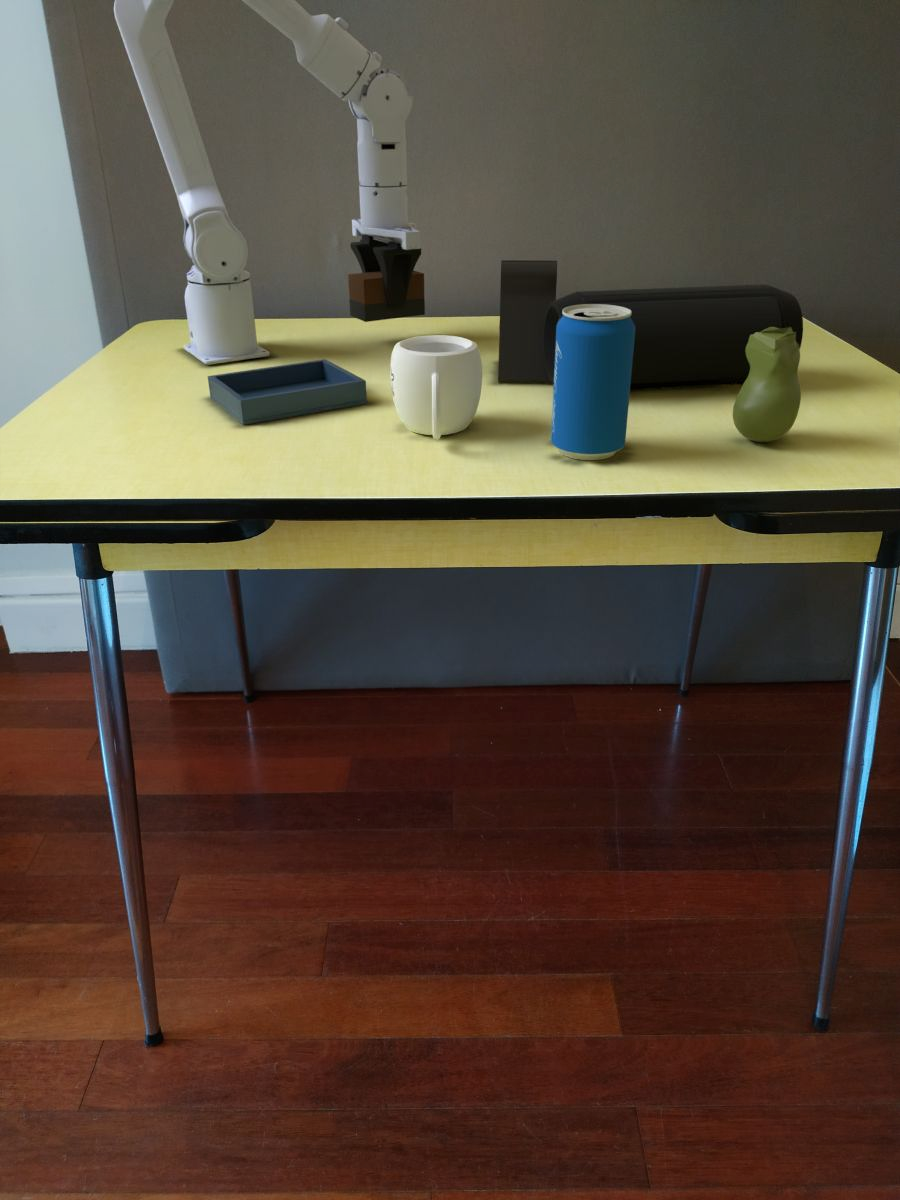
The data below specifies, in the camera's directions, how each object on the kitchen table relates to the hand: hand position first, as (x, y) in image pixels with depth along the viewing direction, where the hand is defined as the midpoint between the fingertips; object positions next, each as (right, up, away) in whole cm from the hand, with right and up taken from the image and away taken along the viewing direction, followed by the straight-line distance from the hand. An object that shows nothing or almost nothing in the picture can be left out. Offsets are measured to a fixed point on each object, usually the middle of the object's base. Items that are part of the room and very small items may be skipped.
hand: (387, 303), depth 115 cm
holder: (-9, -17, -21) cm, 28 cm away
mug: (+7, -22, -30) cm, 38 cm away
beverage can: (+20, -24, -34) cm, 46 cm away
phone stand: (+16, -12, -12) cm, 23 cm away
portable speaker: (+31, -14, -16) cm, 38 cm away
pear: (+36, -23, -32) cm, 53 cm away
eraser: (0, -1, +1) cm, 1 cm away
